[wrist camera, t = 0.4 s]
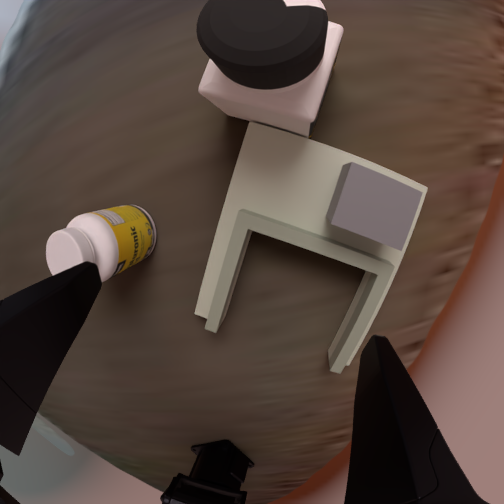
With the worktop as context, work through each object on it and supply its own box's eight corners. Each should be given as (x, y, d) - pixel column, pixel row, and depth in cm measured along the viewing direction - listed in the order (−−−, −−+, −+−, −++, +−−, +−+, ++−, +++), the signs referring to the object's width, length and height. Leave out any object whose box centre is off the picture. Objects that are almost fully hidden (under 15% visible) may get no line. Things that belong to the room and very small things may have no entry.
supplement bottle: (148, 270, 26) (83, 312, 17) (106, 244, 27) (36, 273, 17) (166, 218, 25) (97, 242, 16) (120, 194, 25) (44, 207, 16)
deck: (346, 356, 25) (353, 394, 20) (200, 306, 26) (176, 335, 21) (420, 186, 20) (451, 190, 15) (253, 125, 22) (237, 109, 16)
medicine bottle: (310, 140, 21) (317, 100, 10) (225, 115, 22) (157, 66, 10) (334, 64, 19) (356, -20, 8) (252, 43, 20) (211, -42, 8)
